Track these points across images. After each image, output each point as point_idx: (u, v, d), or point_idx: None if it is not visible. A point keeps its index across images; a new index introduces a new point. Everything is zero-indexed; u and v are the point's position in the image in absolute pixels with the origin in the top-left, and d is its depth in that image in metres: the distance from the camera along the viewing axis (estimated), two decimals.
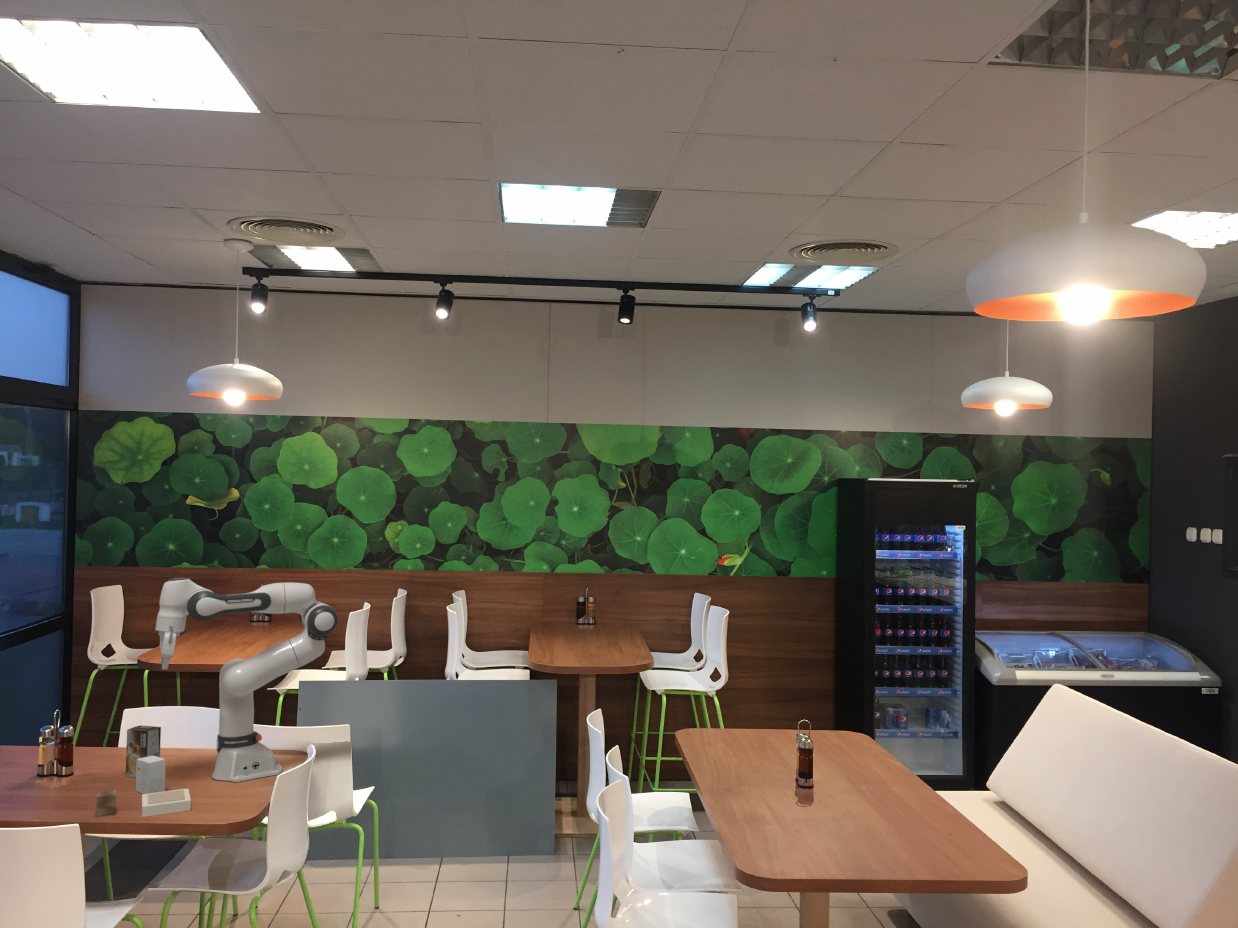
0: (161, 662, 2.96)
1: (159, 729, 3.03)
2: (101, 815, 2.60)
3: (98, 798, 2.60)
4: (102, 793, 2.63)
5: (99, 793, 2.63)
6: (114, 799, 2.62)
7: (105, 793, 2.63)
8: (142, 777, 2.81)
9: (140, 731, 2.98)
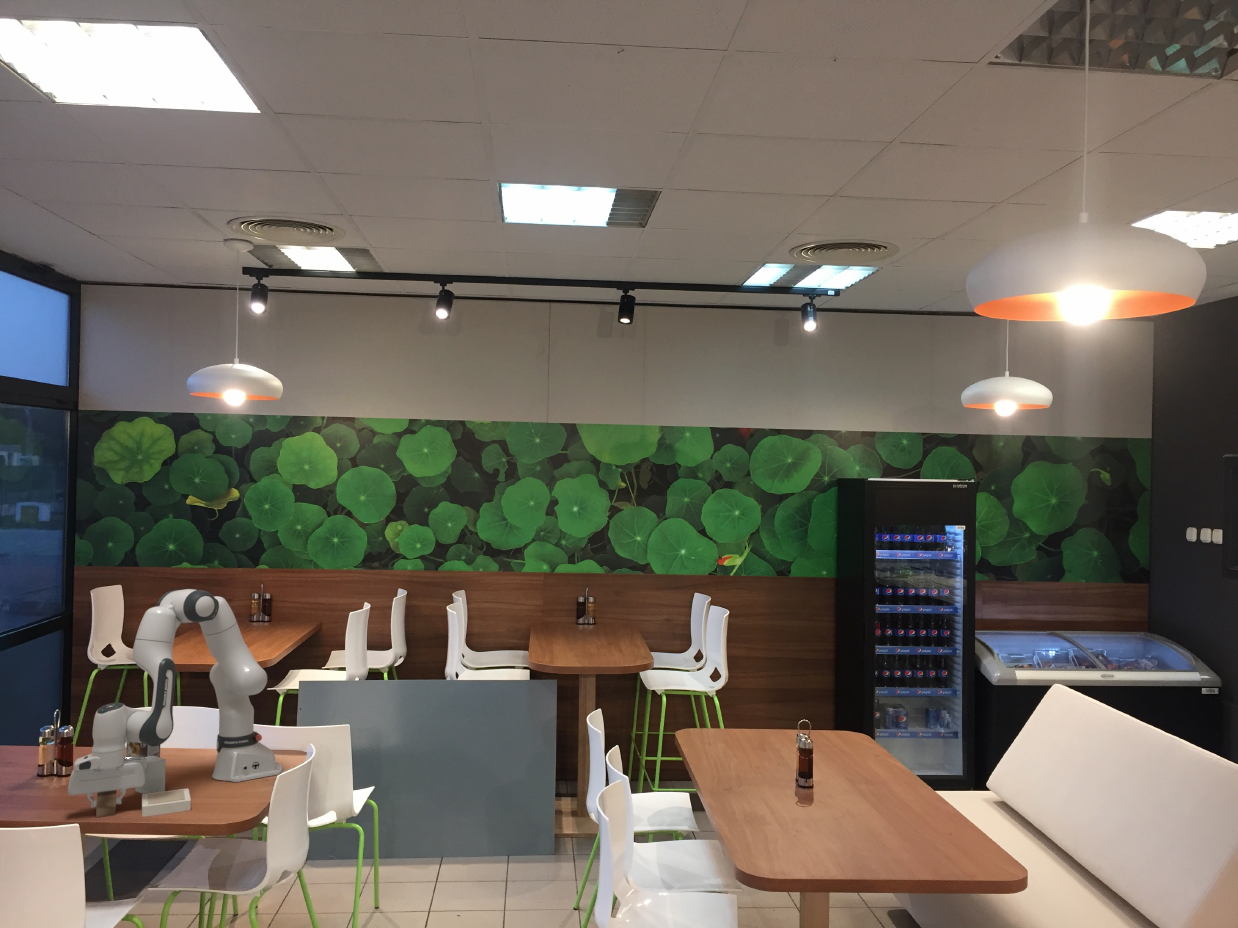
0: (96, 804, 2.61)
1: None
2: (101, 815, 2.60)
3: (98, 798, 2.60)
4: (102, 793, 2.63)
5: (99, 793, 2.63)
6: (114, 799, 2.62)
7: (105, 793, 2.63)
8: None
9: None
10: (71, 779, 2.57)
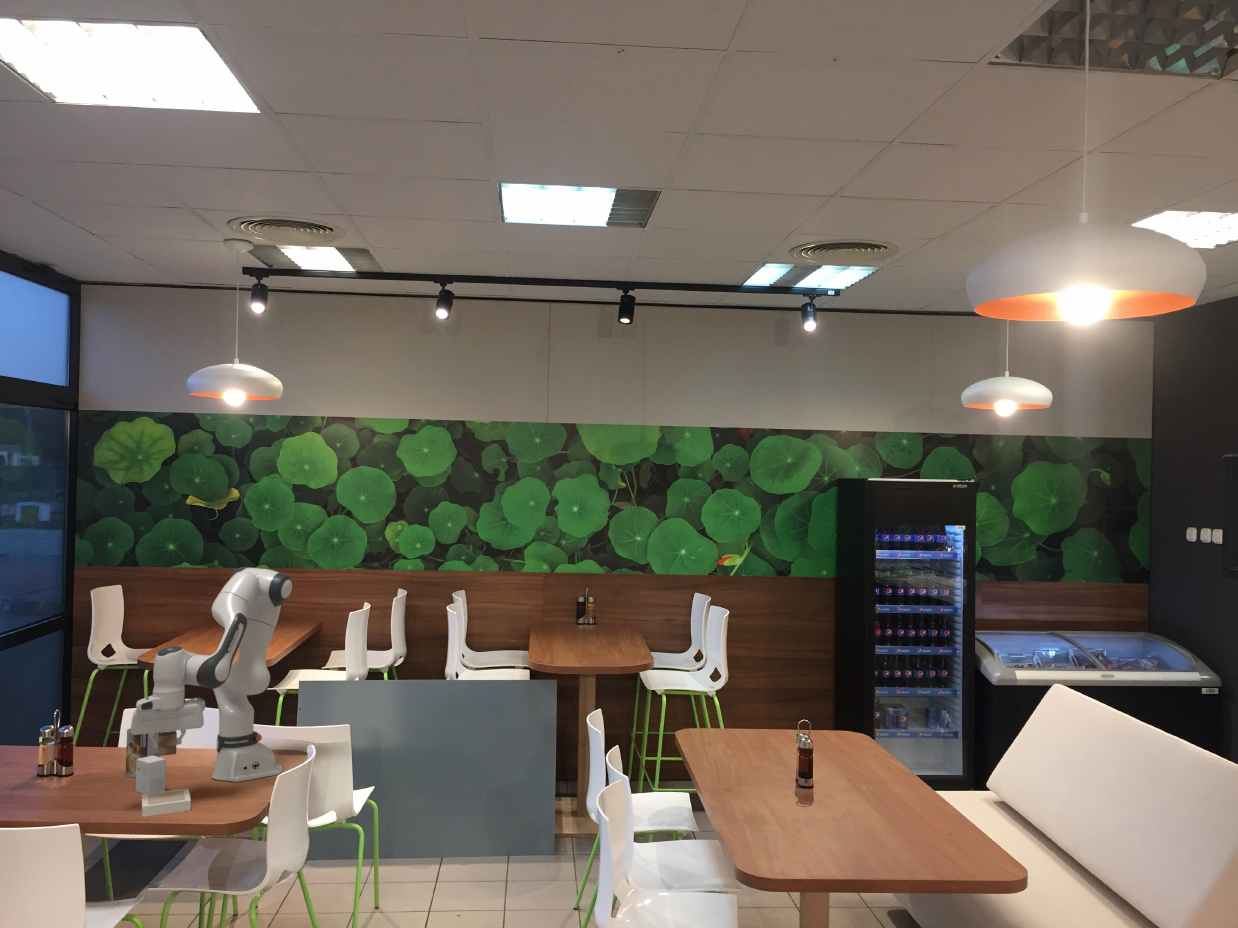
0: (157, 744, 2.68)
1: None
2: (163, 754, 2.67)
3: (160, 737, 2.67)
4: (163, 733, 2.70)
5: (160, 733, 2.70)
6: (175, 739, 2.69)
7: (166, 733, 2.70)
8: (142, 777, 2.81)
9: None
10: (134, 719, 2.64)
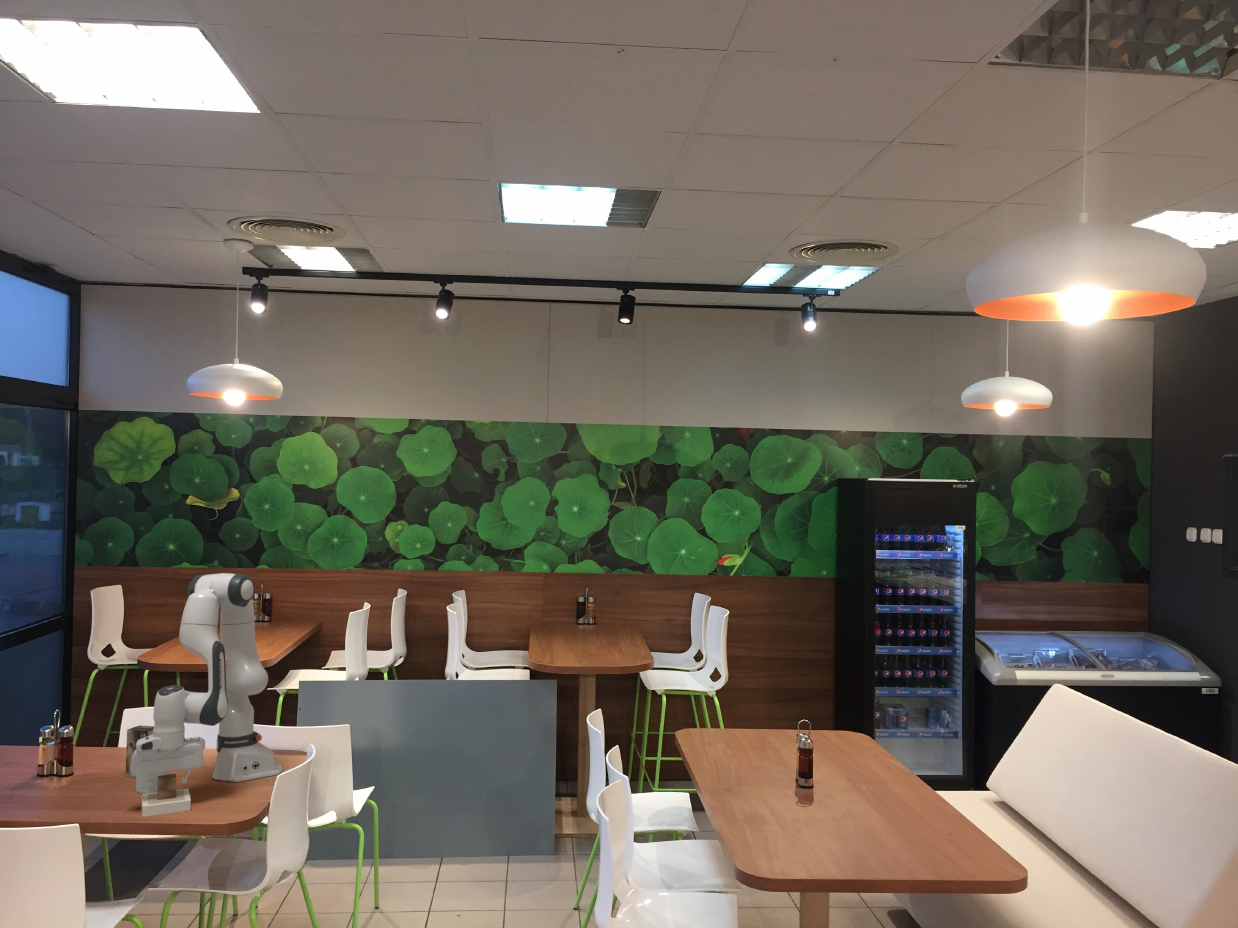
0: (151, 785, 2.66)
1: None
2: (162, 798, 2.66)
3: (159, 781, 2.66)
4: (163, 776, 2.69)
5: (160, 776, 2.69)
6: (175, 782, 2.68)
7: (165, 776, 2.69)
8: (142, 777, 2.81)
9: (140, 731, 2.98)
10: (134, 759, 2.63)
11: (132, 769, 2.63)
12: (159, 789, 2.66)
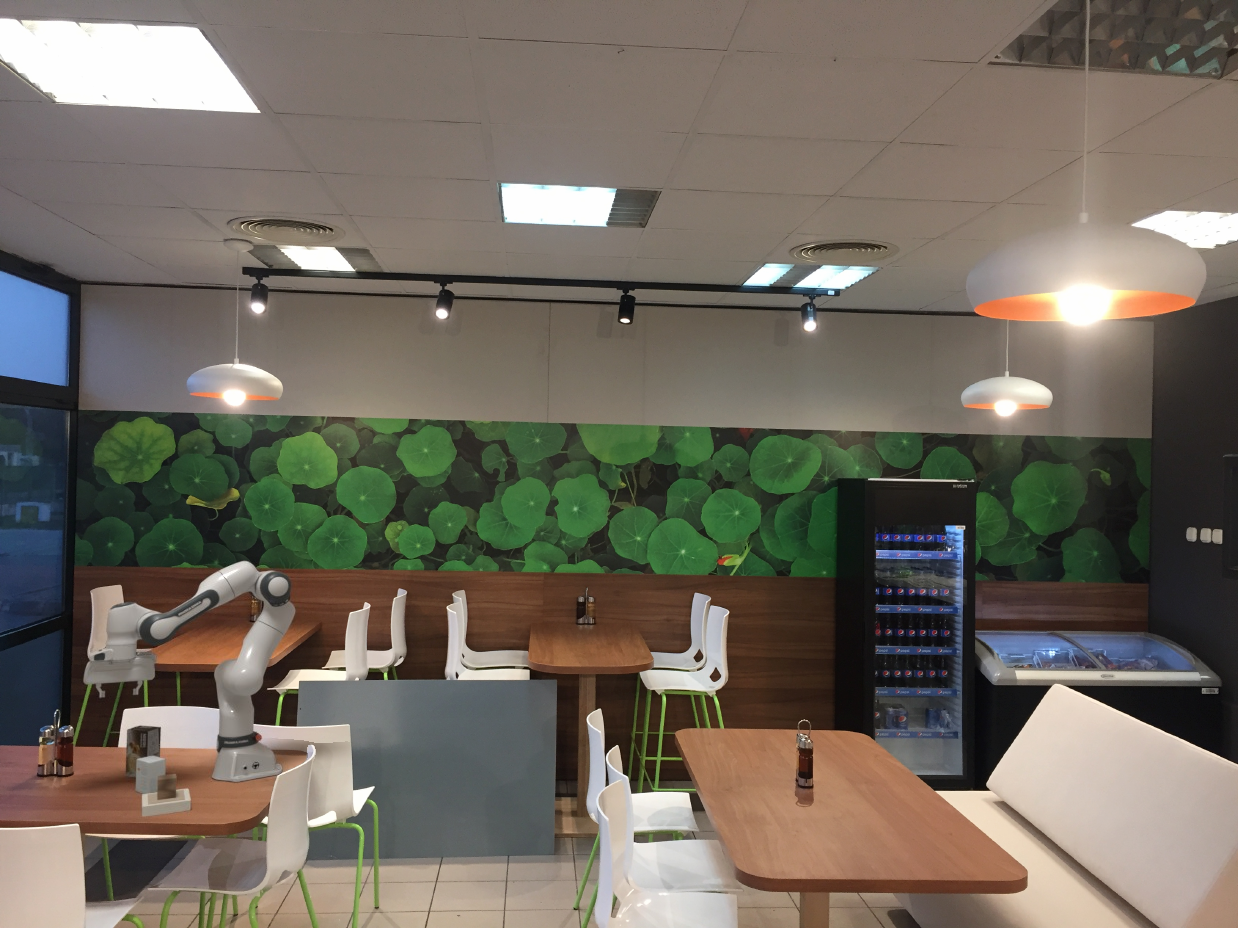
0: (104, 694, 2.80)
1: (159, 729, 3.03)
2: (162, 798, 2.66)
3: (159, 781, 2.66)
4: (163, 776, 2.69)
5: (160, 776, 2.69)
6: (175, 782, 2.68)
7: (165, 776, 2.69)
8: (142, 777, 2.81)
9: (140, 731, 2.98)
10: (87, 669, 2.77)
11: (85, 678, 2.77)
12: (159, 789, 2.66)
